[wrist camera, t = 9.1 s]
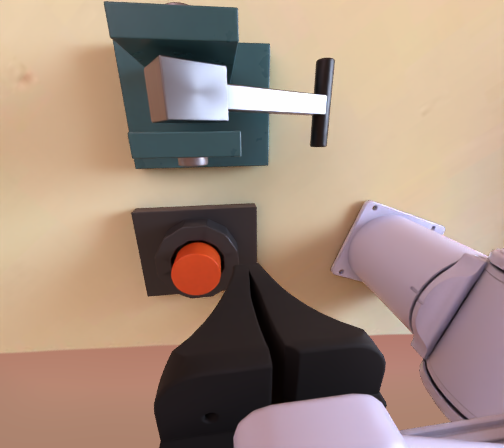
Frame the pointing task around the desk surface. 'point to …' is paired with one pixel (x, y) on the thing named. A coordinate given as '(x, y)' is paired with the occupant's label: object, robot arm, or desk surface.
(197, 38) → the bracket
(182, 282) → the button
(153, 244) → the control block
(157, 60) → the lever
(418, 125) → the desk surface
